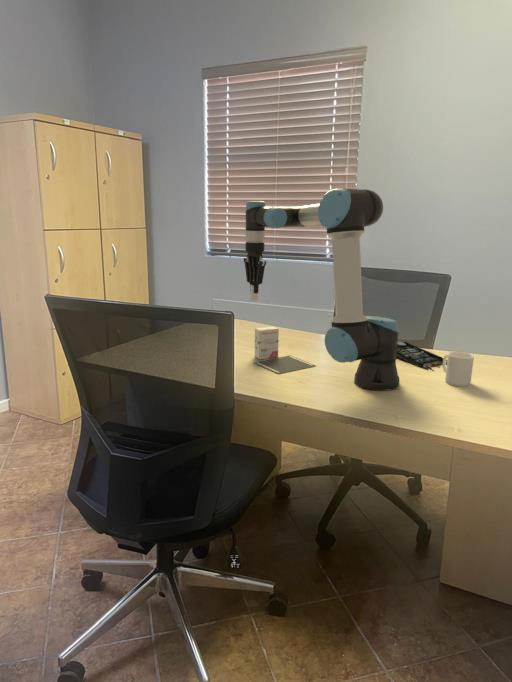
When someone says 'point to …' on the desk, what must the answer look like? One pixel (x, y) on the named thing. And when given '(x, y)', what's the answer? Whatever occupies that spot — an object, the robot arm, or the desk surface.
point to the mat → (284, 364)
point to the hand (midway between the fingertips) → (254, 300)
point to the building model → (418, 355)
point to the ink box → (266, 342)
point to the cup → (458, 368)
